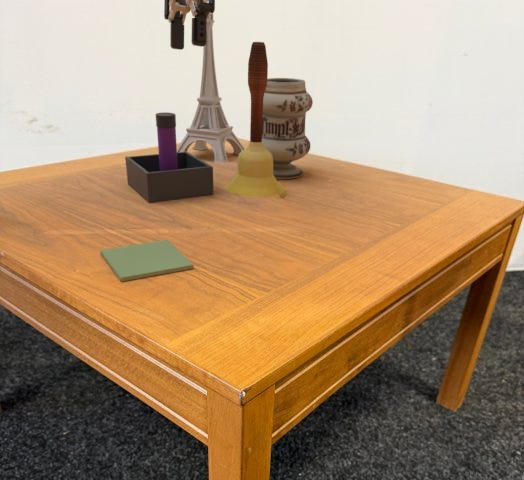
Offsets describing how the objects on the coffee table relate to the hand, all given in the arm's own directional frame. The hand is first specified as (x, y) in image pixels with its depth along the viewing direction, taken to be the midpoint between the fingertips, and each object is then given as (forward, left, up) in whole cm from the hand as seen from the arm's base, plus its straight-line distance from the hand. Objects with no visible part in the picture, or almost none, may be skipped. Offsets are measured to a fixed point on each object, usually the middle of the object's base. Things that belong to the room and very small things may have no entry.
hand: (187, 47), depth 90 cm
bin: (-4, -1, -24) cm, 24 cm away
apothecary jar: (+19, +13, -24) cm, 33 cm away
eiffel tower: (+5, +28, -24) cm, 38 cm away
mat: (-7, -32, -24) cm, 40 cm away
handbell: (+12, 0, -24) cm, 27 cm away
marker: (-4, -1, -23) cm, 24 cm away
